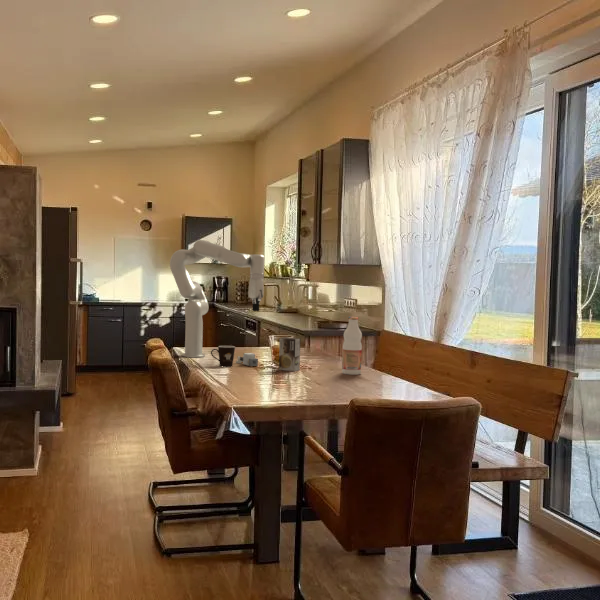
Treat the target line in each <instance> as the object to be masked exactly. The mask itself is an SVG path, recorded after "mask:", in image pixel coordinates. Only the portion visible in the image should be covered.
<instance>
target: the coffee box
mask: <svg viewBox="0 0 600 600" xmlns="http://www.w3.org/2000/svg"><path fill="white" fill-rule="evenodd" d="M278 341H279V342H278V343H279V345H278V346H279V348H278V349H279V350H278V352H279V353H278V355H279V356H278V370H279V371H287V372H288V371H289V372H297V371H300V368H301V367H300V366H301V365H300V363H301V361H300V360H301V337H299V338H298V337H288V336H287V337H286V336H283V337H280V338H279V340H278Z"/></svg>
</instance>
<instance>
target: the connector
mask: <svg viewBox="0 0 600 600" xmlns="http://www.w3.org/2000/svg"><path fill="white" fill-rule="evenodd" d="M253 361H256V362H255V363H256V364H255V363H254V364H253ZM249 366H259V359H258V358H256V357H255V358H250V359H249V365H248V367H249Z"/></svg>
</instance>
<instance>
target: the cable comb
mask: <svg viewBox="0 0 600 600" xmlns="http://www.w3.org/2000/svg"><path fill="white" fill-rule="evenodd" d="M236 357H237V360H235V364H242V363H241V362H243V361H241V360H240V357H241V356H239V355H238V356H236Z"/></svg>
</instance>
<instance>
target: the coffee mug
mask: <svg viewBox="0 0 600 600" xmlns="http://www.w3.org/2000/svg"><path fill="white" fill-rule="evenodd" d="M235 350H236V346H234V345H218V349H216V348H213V349H212V350H211V351H210V354H211V356H212V358H214V359H215V360H217V361H218V362H219V367H221V366H223V367H222V368H231V366H232V367H233V365H234V358H235ZM213 351H217V353H218V358H217V357H216V356H215V355H213Z"/></svg>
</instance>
